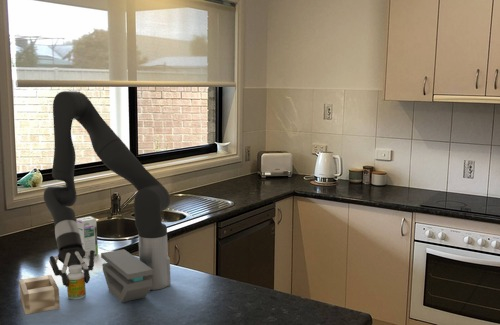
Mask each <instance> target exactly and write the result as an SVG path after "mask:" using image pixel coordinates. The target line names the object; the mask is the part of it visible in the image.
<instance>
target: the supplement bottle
mask: <svg viewBox="0 0 500 325" xmlns="http://www.w3.org/2000/svg"><path fill="white" fill-rule="evenodd" d="M67 278H68V287H66V290H67V298H68V299H70V300H80V299H83V298H85V296H86V295H87V294H86V284H85V274H84V272H83V270H82V266H81V265H72V266H69V267H68V273H67Z"/></svg>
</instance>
